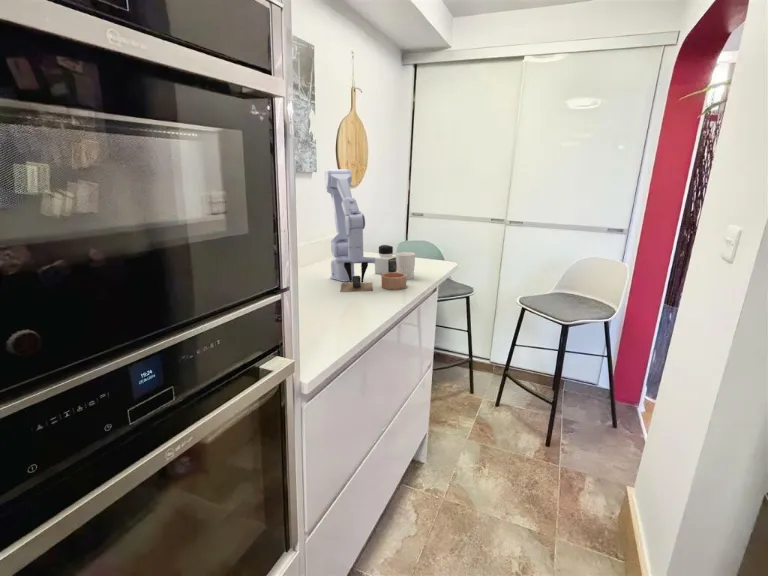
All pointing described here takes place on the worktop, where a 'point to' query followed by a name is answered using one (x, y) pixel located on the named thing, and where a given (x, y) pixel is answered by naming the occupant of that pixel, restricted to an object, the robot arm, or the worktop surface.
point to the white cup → (406, 263)
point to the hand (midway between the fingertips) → (356, 282)
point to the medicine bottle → (385, 260)
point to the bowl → (393, 280)
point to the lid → (356, 286)
